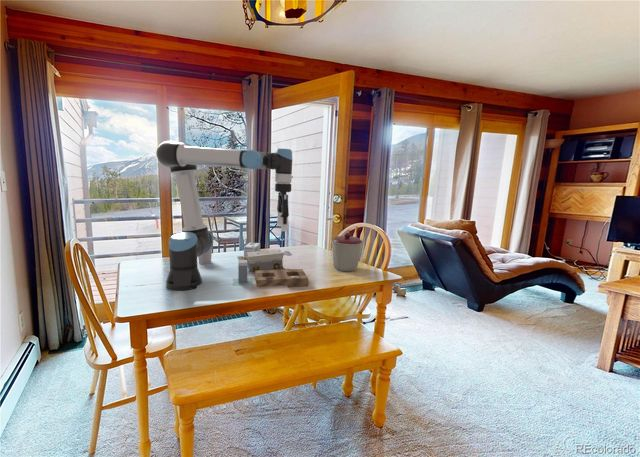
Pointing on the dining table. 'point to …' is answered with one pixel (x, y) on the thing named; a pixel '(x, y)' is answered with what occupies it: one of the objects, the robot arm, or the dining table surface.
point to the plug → (242, 271)
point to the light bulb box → (251, 248)
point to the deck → (235, 282)
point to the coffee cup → (205, 257)
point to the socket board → (281, 278)
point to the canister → (346, 252)
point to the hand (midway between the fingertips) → (282, 228)
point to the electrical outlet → (265, 260)
